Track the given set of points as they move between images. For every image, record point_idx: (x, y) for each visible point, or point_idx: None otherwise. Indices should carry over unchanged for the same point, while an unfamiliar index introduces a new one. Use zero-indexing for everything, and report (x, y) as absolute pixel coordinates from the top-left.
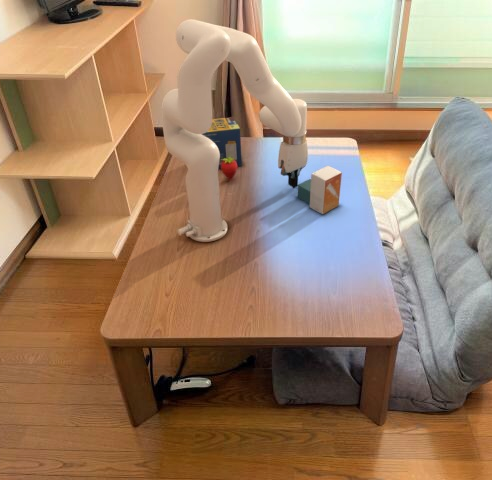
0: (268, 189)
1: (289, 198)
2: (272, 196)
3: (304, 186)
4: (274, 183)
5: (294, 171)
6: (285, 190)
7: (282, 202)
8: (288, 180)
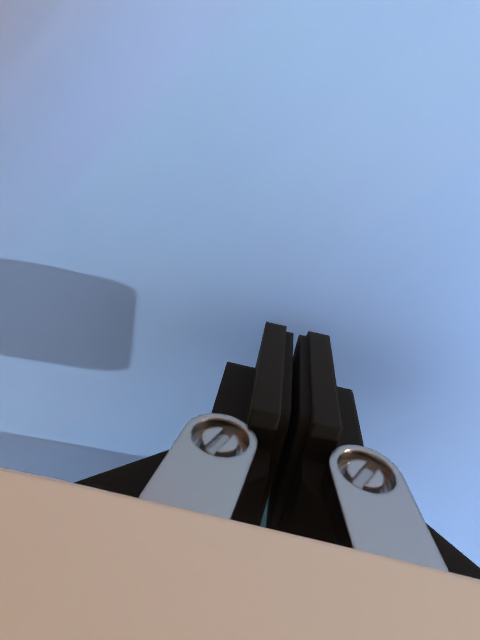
0: (73, 105)
1: (113, 416)
2: (6, 256)
3: None
4: (253, 61)
5: (334, 541)
6: (205, 301)
7: (14, 400)
8: (220, 387)
